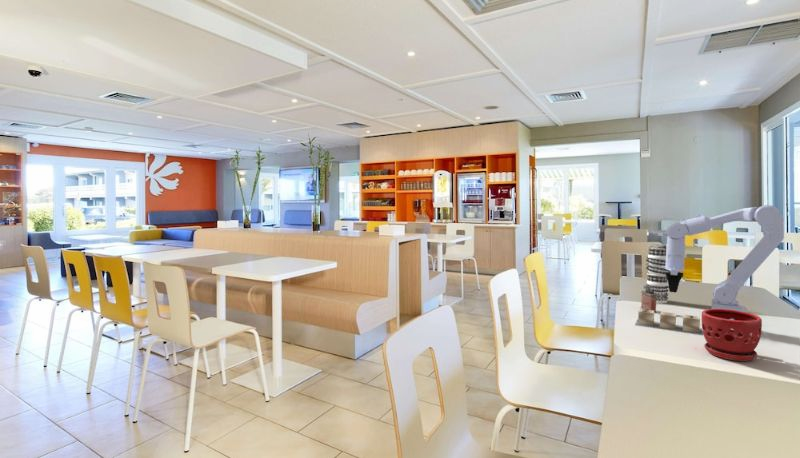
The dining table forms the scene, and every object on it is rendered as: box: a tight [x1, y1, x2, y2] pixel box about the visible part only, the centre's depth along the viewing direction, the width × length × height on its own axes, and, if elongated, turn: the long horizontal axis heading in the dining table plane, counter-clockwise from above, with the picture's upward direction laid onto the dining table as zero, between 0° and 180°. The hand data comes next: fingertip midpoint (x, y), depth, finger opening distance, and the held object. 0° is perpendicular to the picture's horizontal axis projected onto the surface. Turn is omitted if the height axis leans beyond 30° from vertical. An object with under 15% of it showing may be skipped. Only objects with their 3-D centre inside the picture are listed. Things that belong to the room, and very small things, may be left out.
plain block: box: [659, 311, 677, 330], centre depth 141 cm, size 4×4×4 cm
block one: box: [682, 314, 701, 333], centre depth 138 cm, size 4×4×5 cm
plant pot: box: [701, 308, 763, 362], centre depth 115 cm, size 13×13×12 cm
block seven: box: [637, 308, 655, 326], centre depth 145 cm, size 4×4×5 cm
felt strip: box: [634, 318, 703, 336], centre depth 142 cm, size 19×9×1 cm, turn 56°
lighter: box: [640, 284, 657, 314], centre depth 164 cm, size 8×3×10 cm, turn 178°
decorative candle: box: [645, 243, 670, 304], centre depth 183 cm, size 9×9×25 cm
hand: (673, 291), depth 152 cm, fingers closed
